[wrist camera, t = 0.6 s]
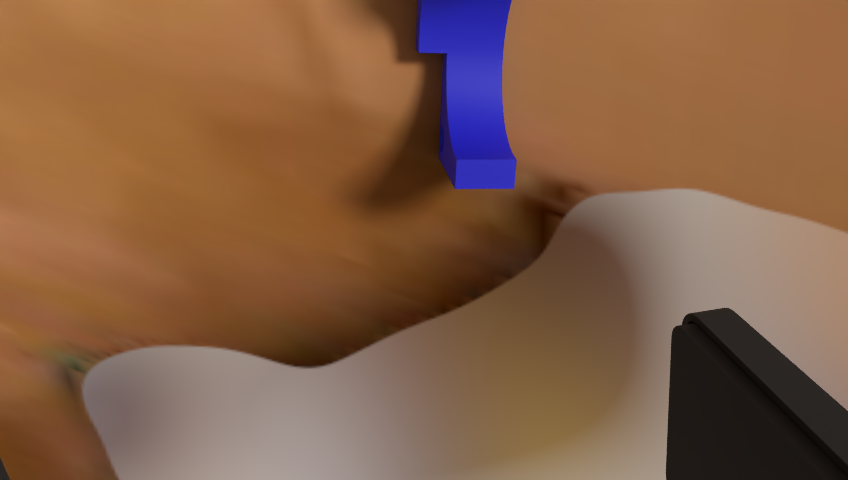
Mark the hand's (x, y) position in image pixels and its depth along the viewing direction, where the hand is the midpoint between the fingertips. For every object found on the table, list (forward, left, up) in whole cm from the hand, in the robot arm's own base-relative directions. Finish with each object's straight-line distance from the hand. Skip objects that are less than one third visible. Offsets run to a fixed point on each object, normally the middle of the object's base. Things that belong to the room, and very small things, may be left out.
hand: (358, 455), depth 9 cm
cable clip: (-6, +3, -30) cm, 31 cm away
